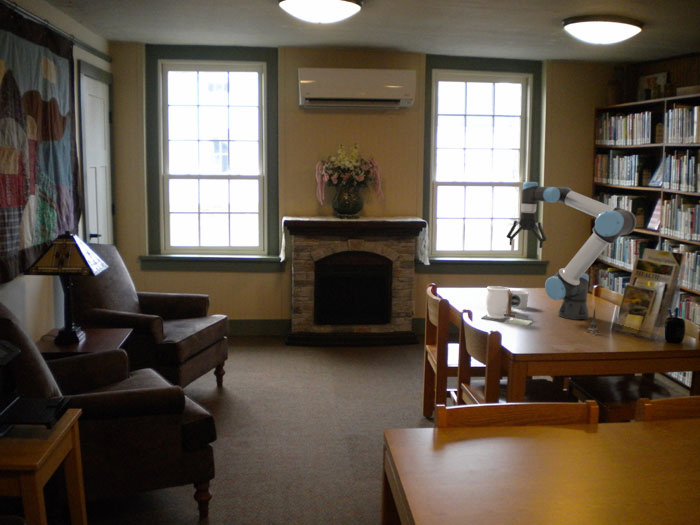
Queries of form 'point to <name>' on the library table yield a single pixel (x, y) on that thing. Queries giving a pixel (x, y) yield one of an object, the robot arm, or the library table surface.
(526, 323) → the sage mat
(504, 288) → the jar
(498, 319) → the grey mat
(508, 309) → the screen
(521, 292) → the mug
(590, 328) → the eiffel tower figurine
